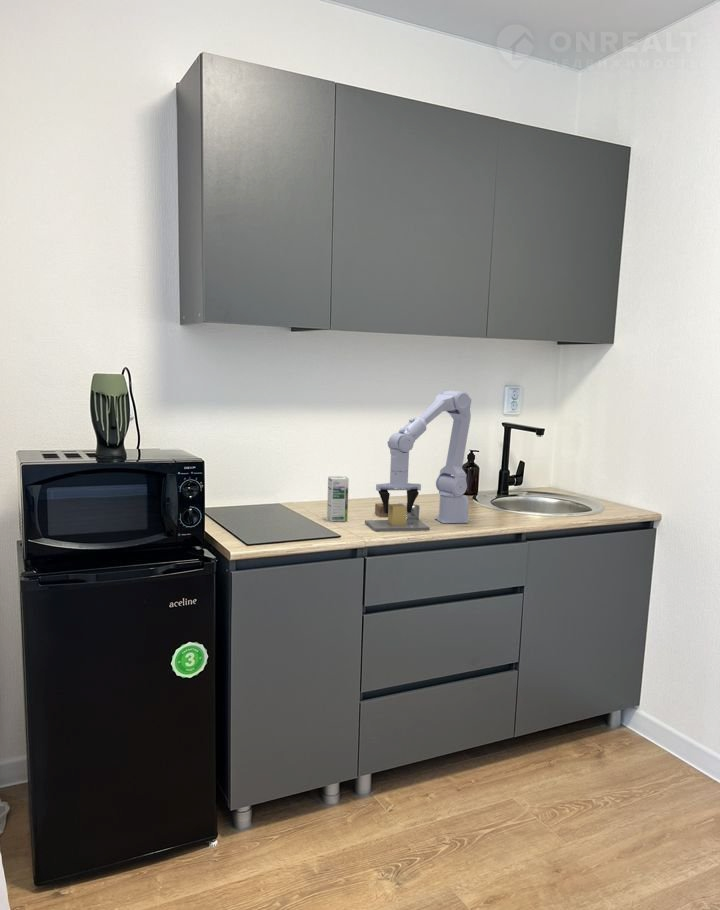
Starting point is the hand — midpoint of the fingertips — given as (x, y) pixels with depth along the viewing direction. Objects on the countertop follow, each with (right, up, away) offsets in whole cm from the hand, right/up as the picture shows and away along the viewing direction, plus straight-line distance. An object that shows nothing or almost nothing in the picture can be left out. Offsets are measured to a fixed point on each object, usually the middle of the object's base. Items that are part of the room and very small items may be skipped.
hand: (397, 512), depth 225 cm
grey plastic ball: (+3, -3, +19) cm, 20 cm away
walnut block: (-4, -3, +18) cm, 18 cm away
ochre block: (0, -4, +1) cm, 4 cm away
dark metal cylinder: (+6, -4, +12) cm, 14 cm away
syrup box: (-20, -3, +8) cm, 21 cm away
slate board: (0, -5, +1) cm, 5 cm away
